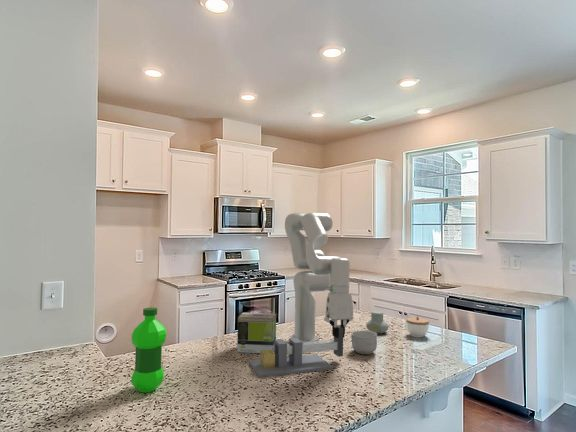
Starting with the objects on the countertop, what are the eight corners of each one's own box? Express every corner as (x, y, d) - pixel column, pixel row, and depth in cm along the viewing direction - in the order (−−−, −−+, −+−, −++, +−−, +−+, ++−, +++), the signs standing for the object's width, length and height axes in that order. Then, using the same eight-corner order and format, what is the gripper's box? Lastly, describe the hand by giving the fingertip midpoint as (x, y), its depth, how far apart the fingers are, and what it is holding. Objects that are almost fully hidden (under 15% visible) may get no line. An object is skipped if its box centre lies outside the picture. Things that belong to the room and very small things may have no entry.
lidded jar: (406, 337, 184) (406, 318, 185) (405, 331, 195) (406, 313, 195) (429, 339, 181) (429, 320, 182) (428, 334, 192) (428, 315, 192)
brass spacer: (270, 363, 142) (260, 364, 141) (270, 349, 142) (260, 350, 141) (274, 367, 138) (263, 368, 136) (274, 353, 138) (264, 354, 136)
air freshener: (390, 332, 194) (390, 312, 194) (385, 335, 187) (385, 315, 187) (369, 328, 199) (369, 309, 200) (363, 332, 192) (364, 312, 193)
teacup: (370, 358, 153) (370, 338, 154) (346, 352, 160) (346, 333, 160) (383, 350, 164) (384, 331, 165) (361, 344, 171) (361, 326, 171)
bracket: (249, 363, 144) (249, 338, 144) (316, 356, 153) (317, 333, 154) (258, 377, 131) (259, 349, 131) (332, 369, 140) (332, 343, 141)
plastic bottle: (152, 379, 127) (155, 304, 128) (171, 388, 120) (173, 309, 121) (123, 389, 119) (126, 308, 120) (141, 399, 112) (144, 314, 113)
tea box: (275, 347, 165) (276, 312, 165) (272, 354, 155) (273, 318, 155) (241, 345, 166) (242, 311, 167) (236, 352, 156) (237, 316, 157)
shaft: (280, 358, 143) (281, 329, 143) (338, 352, 151) (338, 325, 152) (284, 362, 139) (285, 331, 140) (342, 356, 147) (343, 327, 148)
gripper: (325, 291, 144) (324, 341, 143) (362, 290, 149) (361, 337, 148) (317, 288, 151) (316, 335, 150) (352, 287, 156) (351, 332, 155)
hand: (338, 336), depth 149 cm, fingers closed on shaft, 2 cm apart
